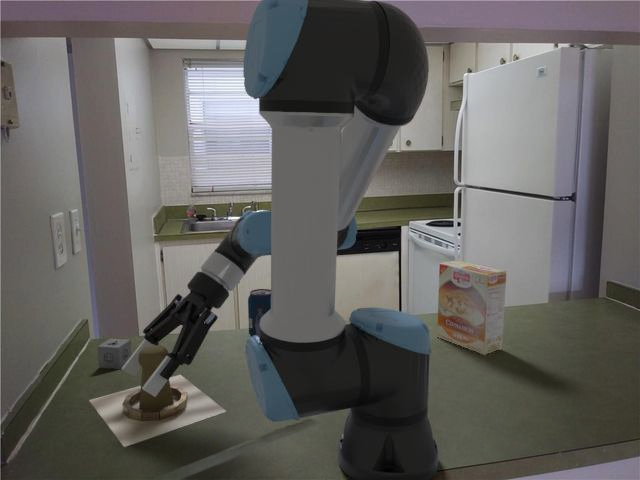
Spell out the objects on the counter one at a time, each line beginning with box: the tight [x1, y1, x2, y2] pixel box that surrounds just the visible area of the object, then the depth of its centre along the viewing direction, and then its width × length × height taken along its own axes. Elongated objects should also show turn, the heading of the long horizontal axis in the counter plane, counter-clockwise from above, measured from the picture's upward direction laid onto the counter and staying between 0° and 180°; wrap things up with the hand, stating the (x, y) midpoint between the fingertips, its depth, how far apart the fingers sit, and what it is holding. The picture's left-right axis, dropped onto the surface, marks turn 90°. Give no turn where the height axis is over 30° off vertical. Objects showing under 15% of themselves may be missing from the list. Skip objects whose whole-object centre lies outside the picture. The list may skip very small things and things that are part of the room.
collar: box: [122, 385, 188, 421], centre depth 94 cm, size 11×11×2 cm
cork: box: [138, 345, 174, 410], centre depth 94 cm, size 6×6×11 cm
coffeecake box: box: [436, 259, 507, 355], centre depth 126 cm, size 15×7×20 cm, turn 33°
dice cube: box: [96, 338, 132, 370], centre depth 116 cm, size 5×5×5 cm
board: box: [88, 374, 228, 448], centre depth 94 cm, size 20×18×1 cm
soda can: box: [247, 288, 271, 337], centre depth 132 cm, size 7×7×12 cm
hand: (137, 382), depth 92 cm, fingers open, 10 cm apart
